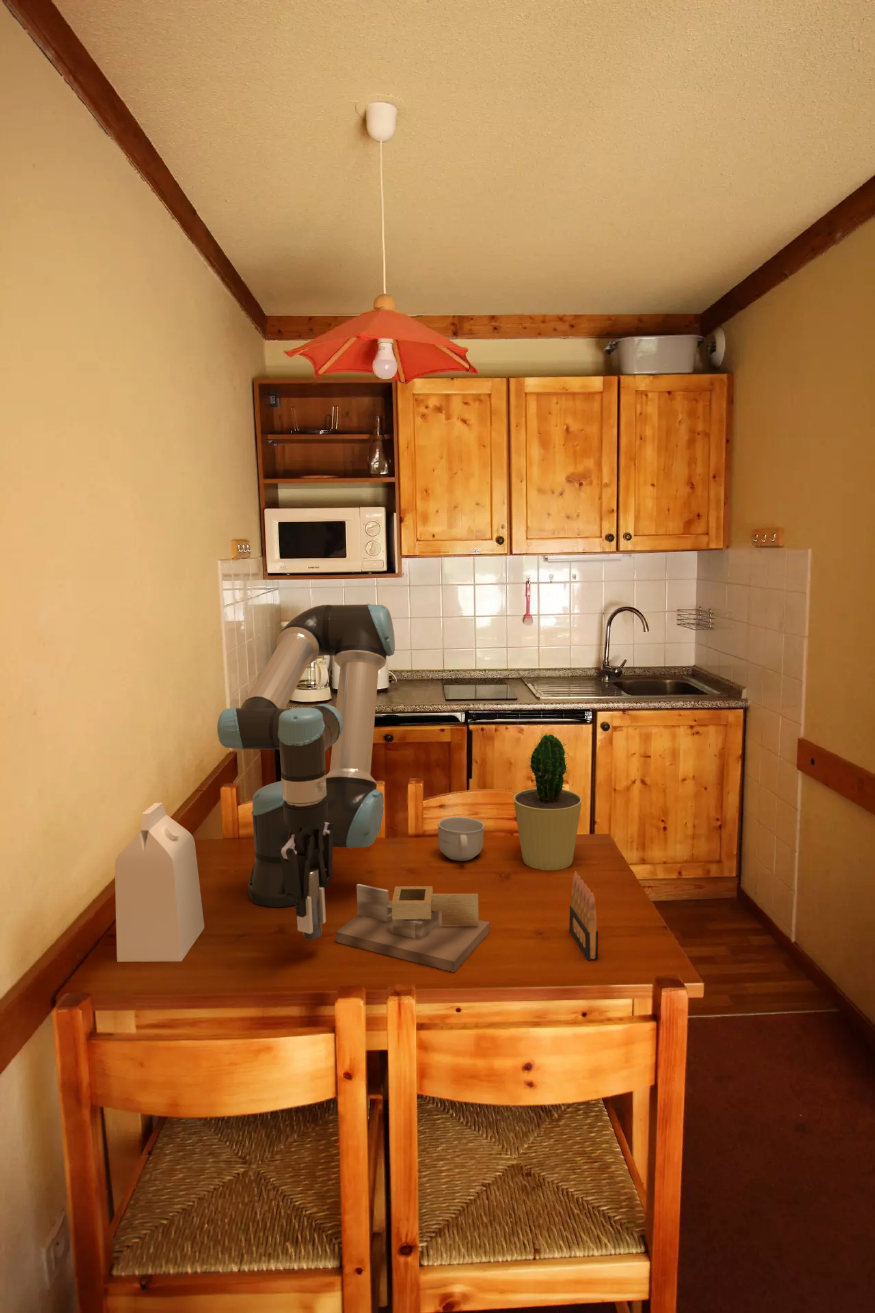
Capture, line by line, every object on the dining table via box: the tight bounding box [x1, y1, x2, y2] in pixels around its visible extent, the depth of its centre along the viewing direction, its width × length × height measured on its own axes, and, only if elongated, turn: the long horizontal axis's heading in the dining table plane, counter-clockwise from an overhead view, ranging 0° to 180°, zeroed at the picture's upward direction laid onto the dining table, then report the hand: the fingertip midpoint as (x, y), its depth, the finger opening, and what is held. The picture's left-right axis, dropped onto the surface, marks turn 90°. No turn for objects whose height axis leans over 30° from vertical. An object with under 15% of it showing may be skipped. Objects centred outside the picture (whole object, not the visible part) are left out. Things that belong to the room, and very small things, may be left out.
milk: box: [114, 802, 205, 963], centre depth 137 cm, size 12×12×26 cm
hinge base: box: [335, 883, 490, 973], centre depth 139 cm, size 24×15×8 cm, turn 63°
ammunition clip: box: [568, 870, 599, 961], centre depth 135 cm, size 11×2×12 cm, turn 8°
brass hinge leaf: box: [391, 885, 479, 925], centre depth 139 cm, size 16×7×6 cm, turn 88°
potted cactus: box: [512, 732, 583, 871], centre depth 171 cm, size 15×15×30 cm
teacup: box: [437, 816, 485, 862], centre depth 174 cm, size 14×11×8 cm
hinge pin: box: [302, 866, 322, 940], centre depth 133 cm, size 3×3×12 cm
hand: (311, 925), depth 133 cm, fingers closed on hinge pin, 3 cm apart
